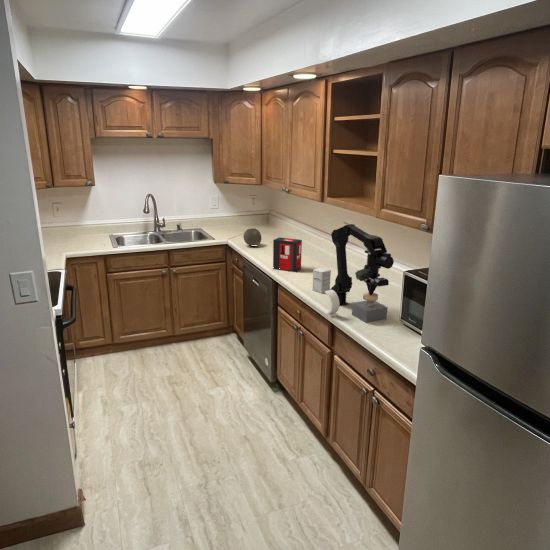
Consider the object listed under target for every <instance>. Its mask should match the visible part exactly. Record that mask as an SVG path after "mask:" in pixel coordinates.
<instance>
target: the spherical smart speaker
mask: <svg viewBox="0 0 550 550" xmlns="http://www.w3.org/2000/svg"><path fill="white" fill-rule="evenodd" d="M242 238H243V240H244V243H245V244H247V245H248V244H249V245H258V246H260V245H261V242H262V234H261V232H260V231H259V229H257V228H255V227H254V228H253V227H251V228H248V229H246V230H245V231H244V233H243V237H242ZM249 245H248V246H249Z"/></svg>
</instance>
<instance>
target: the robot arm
mask: <svg viewBox="0 0 550 550" xmlns="http://www.w3.org/2000/svg"><path fill="white" fill-rule="evenodd" d="M330 234H331V241H332V243H333V245H334V246H335V253H336V254H335V256H336V266H337V275H336V277H335V280H334V282H335V283H334V285H333V286H332V287H330V290H333V291H335V292H336V294H337V295H338V298H339V306H343V305H345V306H346V305H349V302H347V293H350V292H351V288H352V287H353V278H352V276H350V275H349V274H348V260H347V248H346V247H347V244H348V242H349V237H350V236H352V237H354V238H355V239H357V240H358V241H360V242H361V243H363V246H364V248H366V250H364V254H367V256H366V257H367V259H366V264H364V266H363V268H362V269H360V270H359V269H358V270H357V271H355V278H356V280H359V281H360V282H364V283H365V284H366V287H367V292H369V295H372V294H373V293H375V291H376V289H377V287H385V286H389V283H390V281H389V280H388V279H387V278H386V277H383V276H382V277H381V274H380V273H379V272H380V269H381V268H384V269H389V270H390V269H391V268H392V267H393V265H394V262H395V261H394V257H393V256H392V254H391V253H388V251H387V248H386V246H385V242H384V241H383V238H382V237H381V236H378V235H374V234H369V233H368V232H366V231H364V230H363V229H361V228H359V227H357V226H356V225H355V224H353V223H349V224H345V225H343V226H342V227H339V228H337V229H333V230H332V232H331V233H330Z"/></svg>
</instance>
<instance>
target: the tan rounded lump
mask: <svg viewBox="0 0 550 550" xmlns="http://www.w3.org/2000/svg"><path fill="white" fill-rule="evenodd" d="M362 299H363V301H367V303H366V305H367V306H373V304H374V301H376V302H377V301H378V300H379V294H378V293H375V292H373V294H372V295H369V291H367V292H363V295H362Z"/></svg>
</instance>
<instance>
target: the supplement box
mask: <svg viewBox="0 0 550 550" xmlns="http://www.w3.org/2000/svg"><path fill="white" fill-rule="evenodd" d="M312 270H313V272H312V291H315V292H317V293H320V294H325V291H329V290H331V276H332V275H331V273H332V271H331V269H327V268H325V267H317V268H315V269H312Z"/></svg>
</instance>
